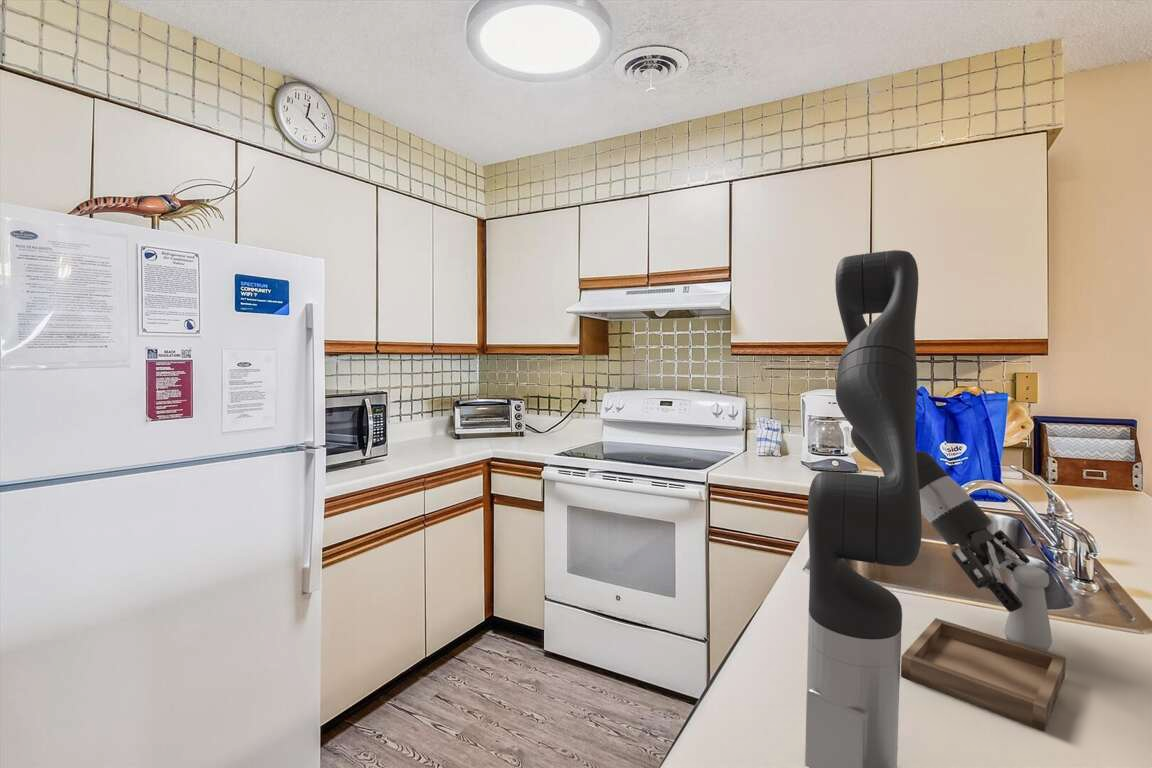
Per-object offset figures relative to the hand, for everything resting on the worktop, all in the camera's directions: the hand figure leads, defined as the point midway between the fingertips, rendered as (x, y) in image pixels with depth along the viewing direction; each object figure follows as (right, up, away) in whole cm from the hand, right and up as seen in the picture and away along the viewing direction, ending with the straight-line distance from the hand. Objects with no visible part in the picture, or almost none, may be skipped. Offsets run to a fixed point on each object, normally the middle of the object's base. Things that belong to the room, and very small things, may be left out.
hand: (1028, 601), depth 87 cm
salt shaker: (0, -8, +1) cm, 8 cm away
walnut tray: (-11, -8, -6) cm, 15 cm away
